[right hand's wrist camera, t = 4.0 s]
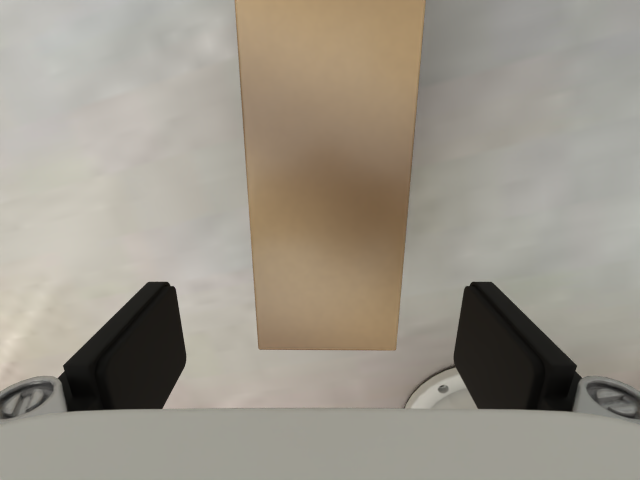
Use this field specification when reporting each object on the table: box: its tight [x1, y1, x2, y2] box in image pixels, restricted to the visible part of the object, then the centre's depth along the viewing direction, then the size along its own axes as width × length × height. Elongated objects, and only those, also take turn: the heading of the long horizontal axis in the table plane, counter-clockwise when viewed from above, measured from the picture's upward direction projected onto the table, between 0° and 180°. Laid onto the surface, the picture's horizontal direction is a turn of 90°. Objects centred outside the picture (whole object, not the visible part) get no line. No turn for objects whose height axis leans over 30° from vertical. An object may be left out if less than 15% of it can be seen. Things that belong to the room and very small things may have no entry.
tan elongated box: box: [235, 0, 426, 350], centre depth 18 cm, size 20×6×11 cm, turn 0°
